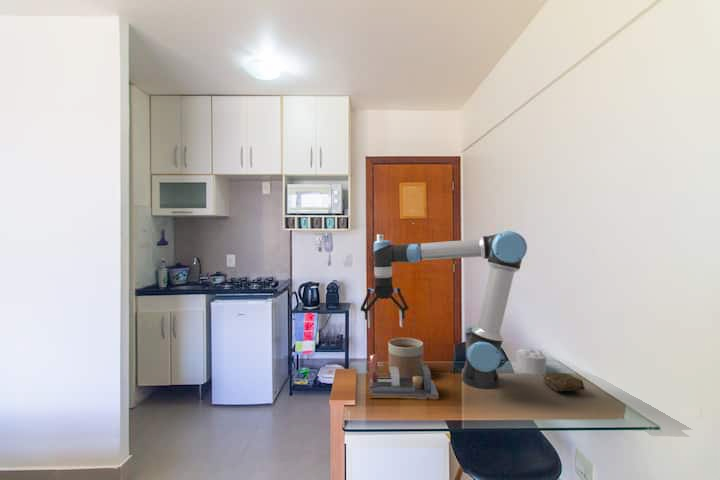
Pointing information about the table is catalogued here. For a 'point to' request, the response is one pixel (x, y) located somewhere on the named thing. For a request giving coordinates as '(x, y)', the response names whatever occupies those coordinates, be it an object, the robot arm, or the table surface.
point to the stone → (563, 381)
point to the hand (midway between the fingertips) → (385, 327)
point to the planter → (406, 356)
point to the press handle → (382, 382)
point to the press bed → (409, 387)
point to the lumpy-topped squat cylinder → (531, 361)
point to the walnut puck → (417, 382)
